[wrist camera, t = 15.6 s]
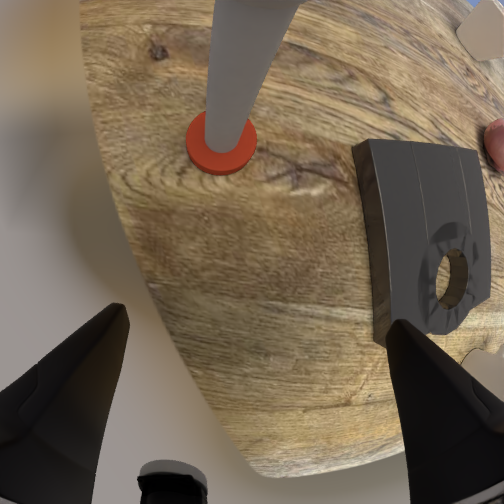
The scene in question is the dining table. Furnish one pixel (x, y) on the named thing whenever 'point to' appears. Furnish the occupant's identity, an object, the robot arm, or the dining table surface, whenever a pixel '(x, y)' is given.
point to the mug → (487, 369)
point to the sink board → (423, 232)
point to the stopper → (236, 80)
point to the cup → (484, 31)
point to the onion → (495, 144)
